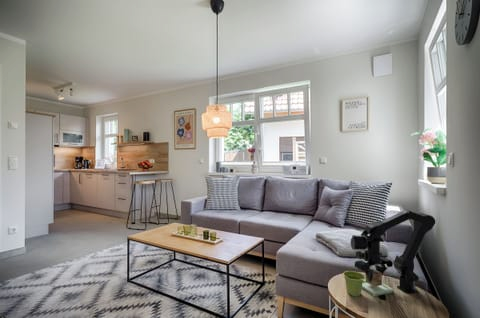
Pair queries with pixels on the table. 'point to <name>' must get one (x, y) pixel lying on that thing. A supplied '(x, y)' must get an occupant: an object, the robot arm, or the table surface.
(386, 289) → the green tray
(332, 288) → the table surface
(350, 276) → the plant pot
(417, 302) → the table surface
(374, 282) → the walnut block
